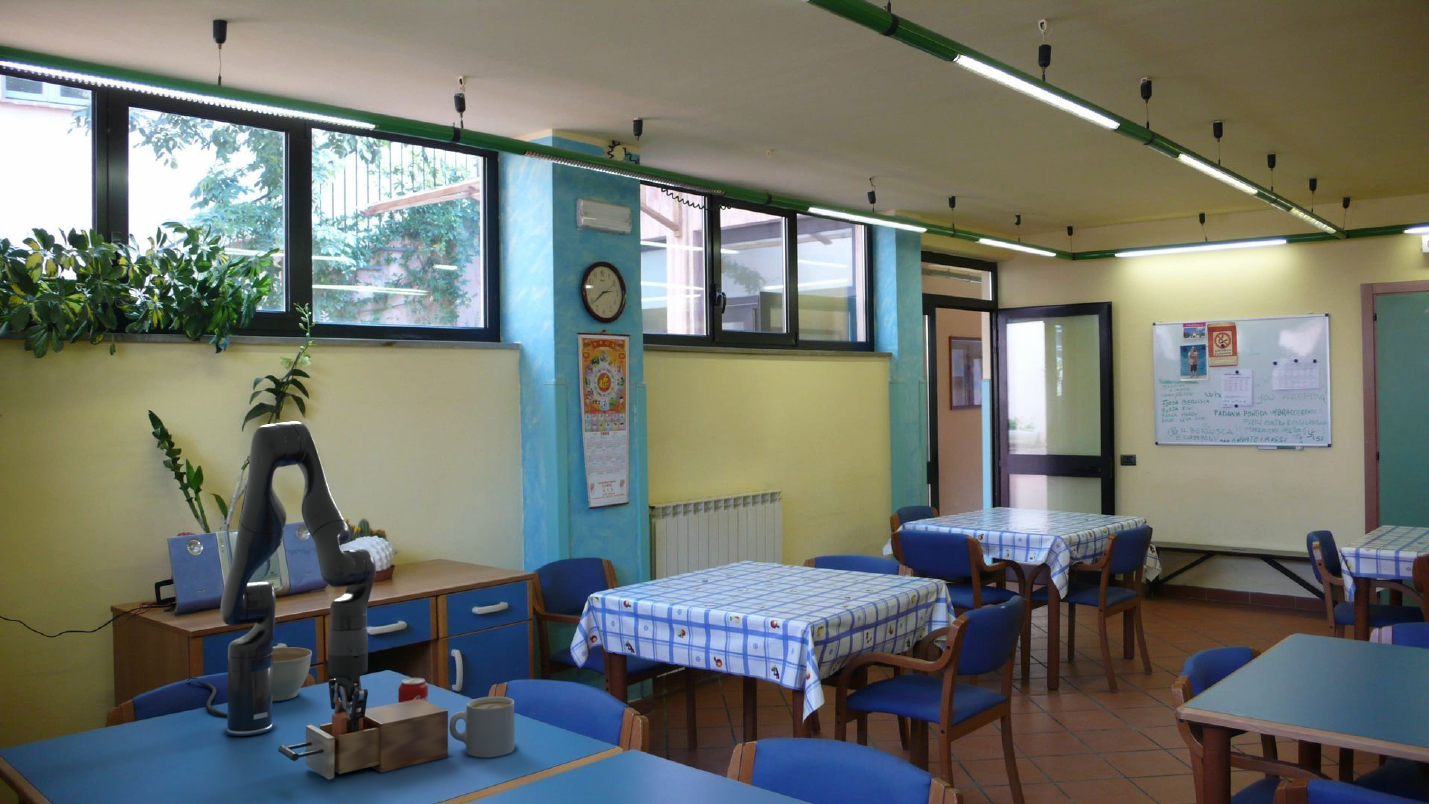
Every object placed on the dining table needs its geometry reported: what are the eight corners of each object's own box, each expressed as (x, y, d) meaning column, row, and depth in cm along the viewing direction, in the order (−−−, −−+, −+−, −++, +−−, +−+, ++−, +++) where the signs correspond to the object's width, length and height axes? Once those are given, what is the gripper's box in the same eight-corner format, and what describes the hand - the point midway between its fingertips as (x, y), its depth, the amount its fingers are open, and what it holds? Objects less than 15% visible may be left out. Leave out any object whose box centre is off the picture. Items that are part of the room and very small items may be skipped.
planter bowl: (228, 704, 256) (228, 660, 257) (266, 687, 272) (267, 646, 273) (288, 707, 254) (288, 662, 254) (323, 690, 270) (324, 648, 270)
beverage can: (419, 739, 228) (419, 684, 229) (392, 737, 230) (393, 683, 230) (432, 731, 235) (432, 677, 235) (406, 729, 236) (407, 676, 236)
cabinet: (381, 772, 207) (381, 724, 207) (354, 757, 216) (354, 711, 216) (447, 756, 217) (448, 710, 217) (419, 743, 226) (420, 698, 226)
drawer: (295, 786, 196) (296, 745, 196) (273, 771, 205) (274, 731, 205) (394, 763, 209) (394, 725, 210) (370, 750, 218) (370, 713, 218)
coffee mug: (519, 743, 226) (519, 697, 226) (506, 758, 216) (507, 709, 216) (459, 741, 227) (459, 695, 227) (443, 756, 217) (444, 708, 217)
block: (331, 736, 209) (331, 714, 209) (353, 732, 212) (353, 709, 212) (340, 741, 206) (341, 718, 206) (362, 737, 209) (363, 714, 209)
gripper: (315, 647, 212) (314, 731, 212) (344, 658, 201) (343, 747, 201) (351, 641, 217) (350, 724, 217) (381, 653, 206) (380, 739, 206)
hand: (347, 735), depth 209 cm, fingers closed on block, 4 cm apart
